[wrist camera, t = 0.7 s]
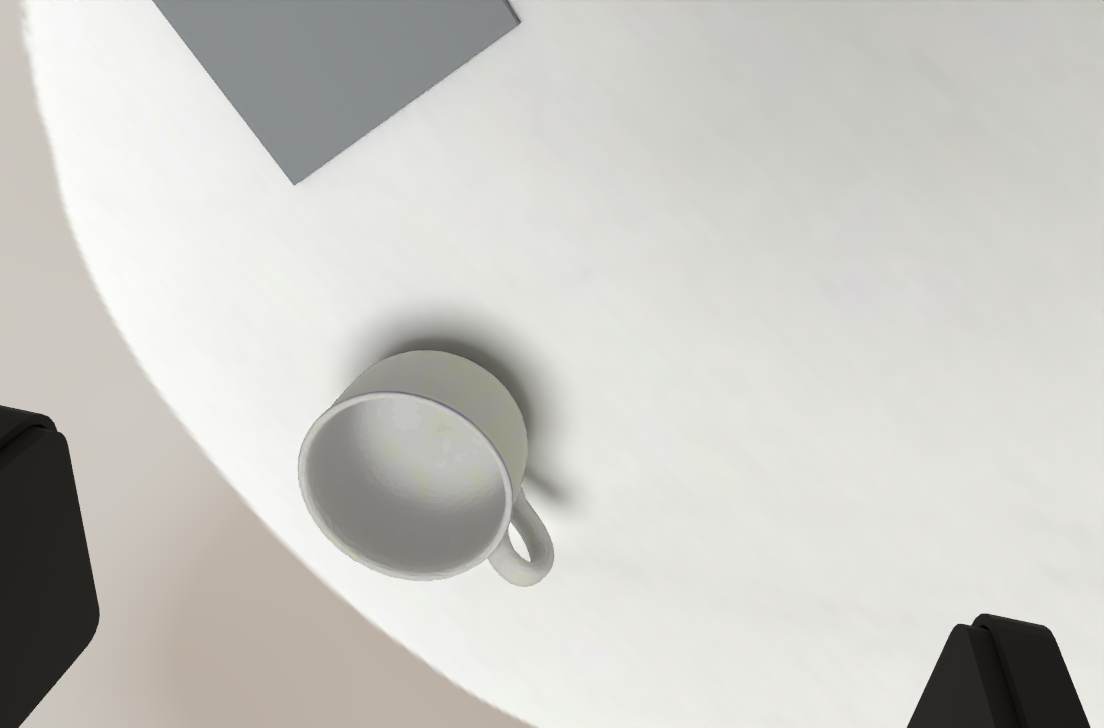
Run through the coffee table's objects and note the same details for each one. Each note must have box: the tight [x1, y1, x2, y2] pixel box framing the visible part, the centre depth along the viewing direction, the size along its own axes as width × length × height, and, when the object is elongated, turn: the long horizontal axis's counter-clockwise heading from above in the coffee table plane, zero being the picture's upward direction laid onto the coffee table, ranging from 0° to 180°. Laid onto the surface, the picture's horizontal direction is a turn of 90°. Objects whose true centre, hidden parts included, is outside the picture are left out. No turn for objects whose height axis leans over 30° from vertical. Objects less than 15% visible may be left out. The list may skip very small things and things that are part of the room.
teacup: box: [298, 350, 554, 587], centre depth 47 cm, size 14×11×8 cm
